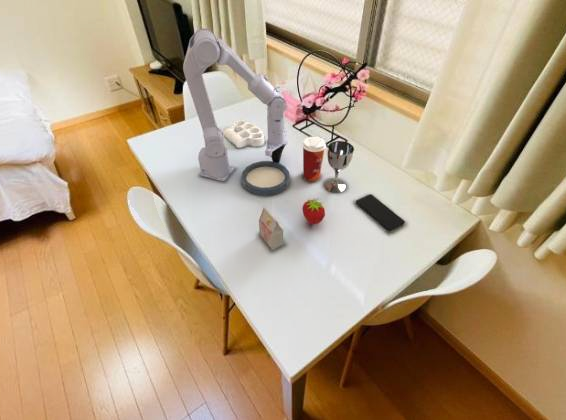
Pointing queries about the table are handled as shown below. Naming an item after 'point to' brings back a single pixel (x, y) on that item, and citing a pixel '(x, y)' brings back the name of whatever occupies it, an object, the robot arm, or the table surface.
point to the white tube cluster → (244, 134)
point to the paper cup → (312, 157)
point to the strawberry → (313, 211)
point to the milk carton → (270, 230)
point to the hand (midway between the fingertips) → (276, 162)
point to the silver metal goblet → (338, 163)
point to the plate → (265, 178)
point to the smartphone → (380, 212)
